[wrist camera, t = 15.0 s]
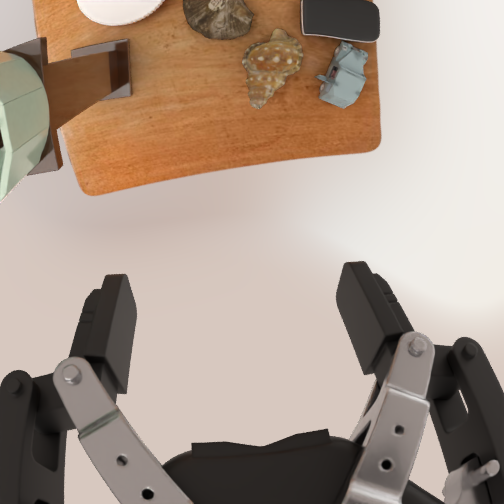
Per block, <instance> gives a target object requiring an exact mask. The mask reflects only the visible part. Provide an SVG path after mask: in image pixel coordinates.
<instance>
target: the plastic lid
mask: <svg viewBox="0 0 504 504" xmlns="http://www.w3.org/2000/svg"><path fill="white" fill-rule="evenodd" d="M76 1H78V2H77V4H79V5H78V7H80V10H82V13H84V15H85V16H87V18H89V19H90V20H93V22H96V23H99V24H103V25H109V26H120V25H125V24H126V25H128V24H129V23H130V24H132V23H133V22H137V21H138V20H139V21H140V20H141V19H142V18H143V19H144V18H145V17H146V16H149V14H152V13H153V11H156V9H157V8H159V7H160V5H162V4H163V3H162V2H163V1H165V0H76Z"/></svg>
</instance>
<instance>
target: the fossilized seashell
mask: <svg viewBox="0 0 504 504" xmlns="http://www.w3.org/2000/svg"><path fill="white" fill-rule="evenodd" d="M183 9H184V13H185V16H186V19H187V21H188V23H189V25H190V26H191V28H192V29H193V30H195V31H197V32H200V33H202V34H203V35H204V36H205V37H206V38H209V39H221V40H223V39H235V38H237V37H240V36H243V35H244V34H246V33H248V32H249V30H250V27H251V23H252V17H253V16H254V14H253V13H252V12H251V11H250V10H249V9H248V8H247V7H246V5H245V3H244V1H243V0H183Z"/></svg>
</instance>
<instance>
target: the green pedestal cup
mask: <svg viewBox="0 0 504 504" xmlns="http://www.w3.org/2000/svg"><path fill="white" fill-rule="evenodd" d="M131 95H132V87H131V71H130V51H129V39H123V40H117V41H111V42H106V43H101V44H96V45H91V46H87V47H82V48H78V49H74V50H71V58H70V59H65V60H61V61H57V62H52V63H48V56H47V38H46V37H41V38H37V39H34V40H31V41H28V42H26V43H23V44H20V45H17V46H15V47H12V48H10V49H7V50H5V51H0V130H1V135H2V140H3V144H4V146H3V147H2V148H1V149H0V204H1V202H2V201H3V200H4V199H5V198H6V197H7V196H8V195H9V194H10V193H11V192H12V191H13V189H14V188H15V187H16V186H17V185H18V184H19V183H20V182H21V181H22V180H23V179H24V178H25V176H28V175H33V174H39V173H45V172H50V171H56V170H59V169H60V168H61V167H62V166H63V161H62V156H61V151H60V146H59V141H58V135H57V129H58V128H60V127H61V126H62V125H64V124H65V123H67V122H68V121H69V120H71V119H72V118H74V117H75V116H77V115H78V114H80V113H81V112H83V111H84V110H86V109H87V108H89V107H90V106H92V105H93V104H95V103H96V102H98V101H102V100H108V99H114V98H121V97H128V96H131Z"/></svg>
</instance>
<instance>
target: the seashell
mask: <svg viewBox="0 0 504 504" xmlns="http://www.w3.org/2000/svg"><path fill="white" fill-rule="evenodd" d="M302 57H303V53H302V46H301V45H300V44H299V42H298V40H297V39H295V38H292V37H290V36H288V35H287V33H286V31H285V30H282V29H275V30H274V31H273V32H272V36H271V38H270V41H269V42H268V43H263V42H262V43H256V44H253V45H251V46H250V47H249V48H248V49H246V51H245V53H244V57H243V60H242V64H243V66H244V68H245V69H246V70H247V72H248V78H247V79H246V84H247V86H248V88H249V92H248V96H249V98H250V104H251V106H252V107H254V108H256V109H260V108H262V106H263V105H264V104H266V102H267V100H268V99H269V98H271V97H272V96H273V95H274V91H276V90H277V89H279V88H280V87H282V86H283V85H284V84H285V80H286V77H287V75H291V74H293V73H295V72H297V71H298V70H299V69H300V65H301V62H302Z"/></svg>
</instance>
